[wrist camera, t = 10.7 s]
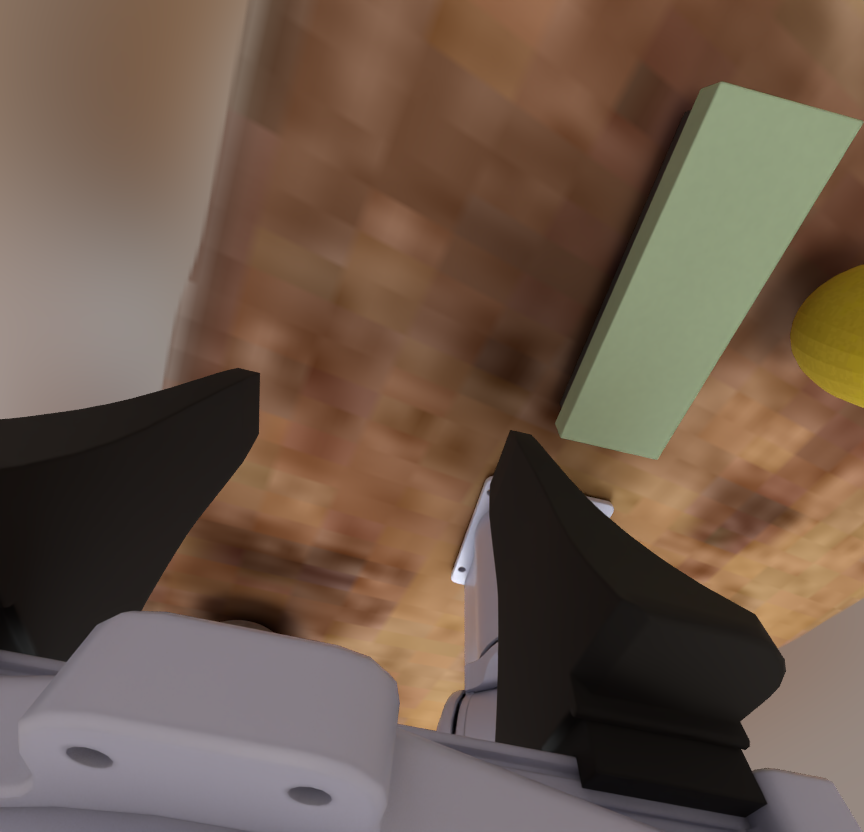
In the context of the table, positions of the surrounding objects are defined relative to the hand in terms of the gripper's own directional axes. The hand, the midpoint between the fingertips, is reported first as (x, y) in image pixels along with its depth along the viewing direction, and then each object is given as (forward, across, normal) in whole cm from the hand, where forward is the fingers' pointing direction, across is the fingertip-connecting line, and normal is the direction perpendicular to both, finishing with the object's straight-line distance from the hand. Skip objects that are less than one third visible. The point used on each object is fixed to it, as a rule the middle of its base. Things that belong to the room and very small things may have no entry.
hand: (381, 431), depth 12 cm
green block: (+10, -10, -4) cm, 15 cm away
